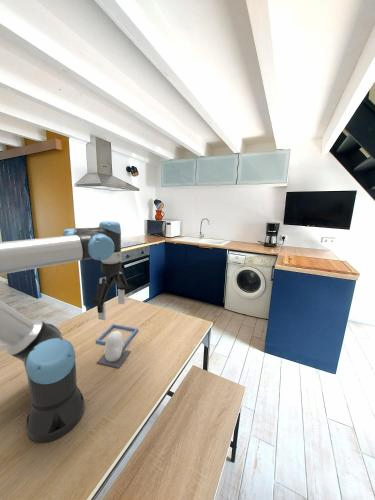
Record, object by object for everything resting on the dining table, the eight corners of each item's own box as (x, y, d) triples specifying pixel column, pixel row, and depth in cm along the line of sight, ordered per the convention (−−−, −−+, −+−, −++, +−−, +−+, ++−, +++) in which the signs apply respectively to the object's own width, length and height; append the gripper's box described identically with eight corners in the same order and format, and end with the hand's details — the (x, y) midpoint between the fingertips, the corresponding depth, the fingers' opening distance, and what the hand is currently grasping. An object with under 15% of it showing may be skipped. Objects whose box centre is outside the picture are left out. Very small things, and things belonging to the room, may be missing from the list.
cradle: (123, 349, 95) (123, 346, 95) (95, 343, 98) (95, 340, 98) (137, 331, 109) (137, 328, 109) (113, 326, 112) (113, 323, 112)
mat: (118, 368, 84) (118, 367, 84) (96, 363, 86) (96, 362, 86) (130, 352, 94) (130, 350, 93) (110, 347, 96) (110, 346, 95)
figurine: (119, 363, 86) (118, 338, 83) (101, 361, 86) (100, 335, 84) (125, 352, 93) (125, 327, 90) (109, 350, 93) (108, 326, 91)
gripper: (98, 272, 69) (101, 329, 73) (135, 255, 92) (135, 299, 97) (79, 269, 70) (83, 325, 75) (120, 253, 94) (120, 296, 99)
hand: (112, 310), depth 86 cm, fingers open, 13 cm apart
